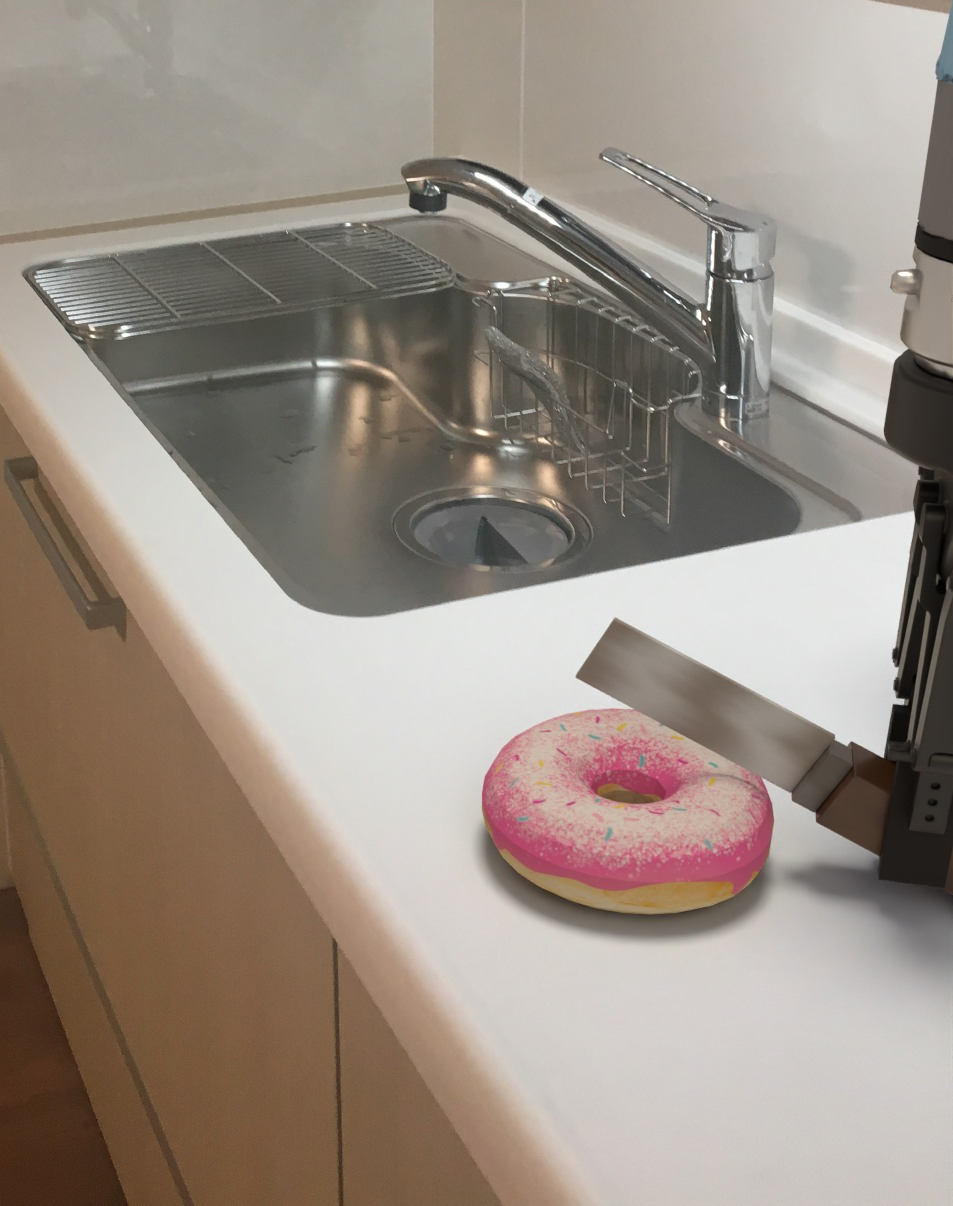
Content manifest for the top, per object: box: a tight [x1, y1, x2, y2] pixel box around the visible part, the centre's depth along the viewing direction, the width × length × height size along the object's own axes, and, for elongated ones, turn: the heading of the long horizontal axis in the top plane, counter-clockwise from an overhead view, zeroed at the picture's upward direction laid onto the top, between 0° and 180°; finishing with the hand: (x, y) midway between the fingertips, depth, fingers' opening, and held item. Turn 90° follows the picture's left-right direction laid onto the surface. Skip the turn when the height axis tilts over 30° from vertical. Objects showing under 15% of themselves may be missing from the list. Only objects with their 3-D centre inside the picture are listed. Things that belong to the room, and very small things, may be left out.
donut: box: [481, 708, 775, 915], centre depth 78 cm, size 14×13×5 cm
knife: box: [575, 616, 953, 897], centre depth 74 cm, size 20×3×4 cm, turn 73°
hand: (907, 854), depth 75 cm, fingers closed on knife, 3 cm apart
